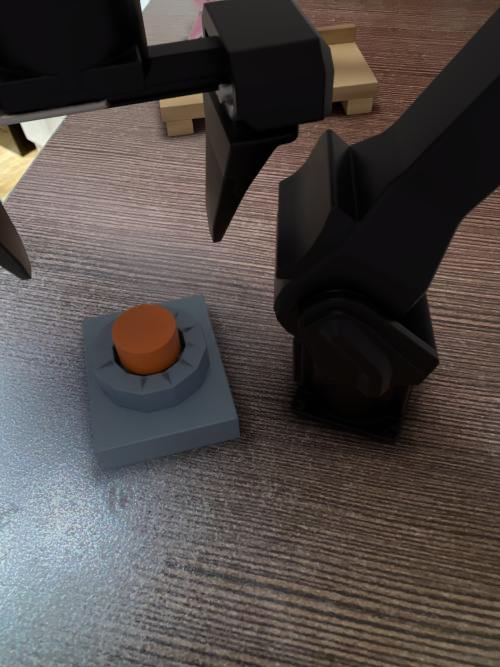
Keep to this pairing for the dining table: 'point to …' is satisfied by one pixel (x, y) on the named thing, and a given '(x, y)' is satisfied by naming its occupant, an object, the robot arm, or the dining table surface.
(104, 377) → the control box
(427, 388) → the dining table surface
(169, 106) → the shelf
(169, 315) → the bell button
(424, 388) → the dining table surface
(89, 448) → the dining table surface
